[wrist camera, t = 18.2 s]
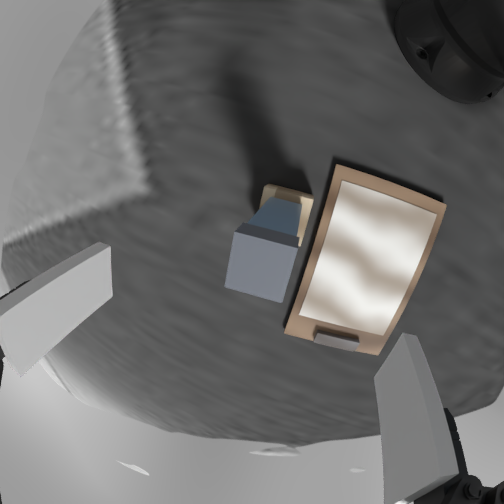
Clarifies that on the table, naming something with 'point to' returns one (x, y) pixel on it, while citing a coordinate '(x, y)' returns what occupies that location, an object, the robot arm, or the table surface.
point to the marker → (265, 250)
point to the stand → (291, 196)
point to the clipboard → (363, 261)
